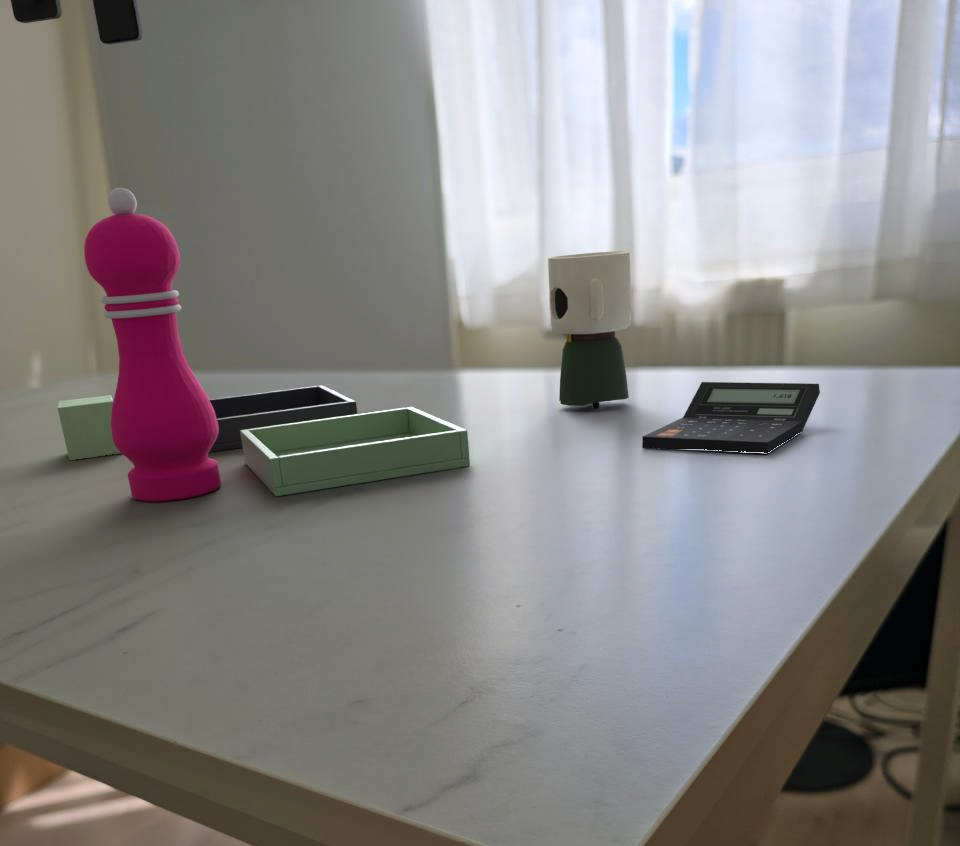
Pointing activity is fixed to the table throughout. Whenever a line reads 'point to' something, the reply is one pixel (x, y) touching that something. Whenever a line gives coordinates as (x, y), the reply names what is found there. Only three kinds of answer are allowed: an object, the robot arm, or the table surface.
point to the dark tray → (275, 411)
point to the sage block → (87, 427)
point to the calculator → (739, 417)
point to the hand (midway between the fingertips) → (83, 31)
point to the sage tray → (353, 449)
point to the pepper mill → (151, 358)
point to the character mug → (591, 324)
